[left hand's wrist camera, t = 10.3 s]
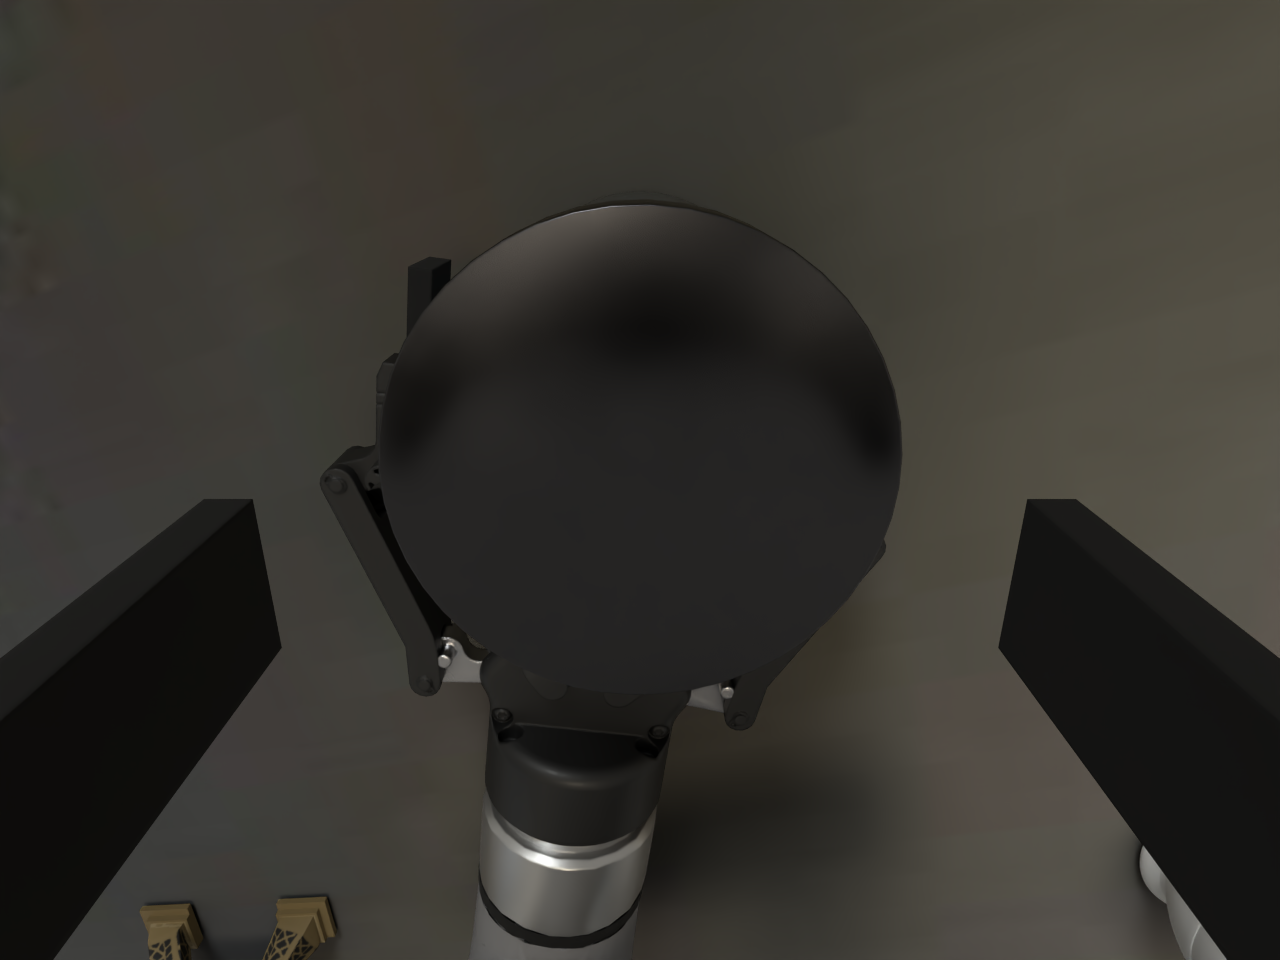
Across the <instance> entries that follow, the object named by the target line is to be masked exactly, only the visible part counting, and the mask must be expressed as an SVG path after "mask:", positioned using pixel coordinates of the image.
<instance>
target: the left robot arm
mask: <svg viewBox="0 0 1280 960" xmlns="http://www.w3.org/2000/svg"><path fill="white" fill-rule="evenodd" d="M281 648H282V647H281V642H280V637H279V632H278V626H277V621H276V616H275V611H274V606H273V601H272V596H271V591H270V586H269V580H268V575H267V570H266V565H265V560H264V555H263V550H262V545H261V540H260V534H259V529H258V524H257V519H256V514H255V509H254V504H253V499H204V500H202V501H201V502H200V503H199V504H197V505H196V506H195V507H193V508H192V509H191V510H190V511H188V512H187V513H186V514H185V515H183V516H182V517H181V518H179V519H178V520H177V521H176V522H174V523H173V524H172V525H170V526H169V527H168V528H167V529H165V530H164V531H163V532H161V533H160V534H159V535H158V536H156V537H155V538H154V539H153V540H151V541H150V542H149V543H147V544H146V545H145V546H144V547H142V548H141V549H140V550H138V551H137V552H136V553H135V554H133V555H132V556H131V557H130V558H128V559H127V560H126V561H124V562H123V563H122V564H121V565H119V566H118V567H117V568H115V569H114V570H113V571H112V572H110V573H109V574H108V575H106V576H105V577H104V578H103V579H101V580H100V581H99V582H98V583H96V584H95V585H94V586H92V587H91V588H90V589H89V590H87V591H86V592H85V593H83V594H82V595H81V596H80V597H78V598H77V599H76V600H75V601H73V602H72V603H71V604H69V605H68V606H67V607H66V608H64V609H63V610H62V611H60V612H59V613H58V614H57V615H55V616H54V617H53V618H51V619H50V620H49V621H48V622H46V623H45V624H44V625H43V626H41V627H40V628H39V629H37V630H36V631H35V632H34V633H32V634H31V635H30V636H28V637H27V638H26V639H25V640H23V641H22V642H21V643H20V644H18V645H17V646H16V647H14V648H13V649H12V650H11V651H9V652H8V653H7V654H5V655H4V656H3V657H2V658H0V960H53V959H54V958H55V956H56V955H57V954H58V952H59V951H60V950H61V948H62V947H63V946H64V944H65V943H66V941H67V940H68V939H69V937H70V936H71V935H72V933H73V932H74V931H75V929H76V928H77V926H78V925H79V924H80V922H81V921H82V920H83V918H84V917H85V915H86V914H87V913H88V911H89V910H90V909H91V907H92V906H93V905H94V903H95V902H96V900H97V899H98V898H99V896H100V895H101V894H102V892H103V891H104V890H105V888H106V887H107V885H108V884H109V883H110V881H111V880H112V879H113V877H114V876H115V875H116V873H117V872H118V870H119V869H120V868H121V866H122V865H123V864H124V862H125V861H126V860H127V858H128V857H129V855H130V854H131V853H132V851H133V850H134V849H135V847H136V846H137V845H138V843H139V842H140V840H141V839H142V838H143V836H144V835H145V834H146V832H147V831H148V829H149V828H150V827H151V825H152V824H153V823H154V821H155V820H156V819H157V817H158V816H159V814H160V813H161V812H162V810H163V809H164V808H165V806H166V805H167V804H168V802H169V801H170V799H171V798H172V797H173V795H174V794H175V793H176V791H177V790H178V789H179V787H180V786H181V784H182V783H183V782H184V780H185V779H186V778H187V776H188V775H189V774H190V772H191V771H192V769H193V768H194V767H195V765H196V764H197V763H198V761H199V760H200V758H201V757H202V756H203V754H204V753H205V752H206V750H207V749H208V748H209V746H210V745H211V743H212V742H213V741H214V739H215V738H216V737H217V735H218V734H219V733H220V731H221V730H222V728H223V727H224V726H225V724H226V723H227V722H228V720H229V719H230V718H231V716H232V715H233V713H234V712H235V711H236V709H237V708H238V707H239V705H240V704H241V703H242V701H243V700H244V698H245V697H246V696H247V694H248V693H249V692H250V690H251V689H252V687H253V686H254V685H255V683H256V682H257V681H258V679H259V678H260V677H261V675H262V674H263V672H264V671H265V670H266V668H267V667H268V666H269V664H270V663H271V662H272V660H273V659H274V657H275V656H276V655H277V653H278V652H279V651H280V649H281ZM998 648H999V649H1000V651H1001V652H1002V653H1003V655H1004V656H1005V657H1006V659H1007V660H1008V662H1009V663H1010V664H1011V666H1012V667H1013V668H1014V670H1015V671H1016V672H1017V674H1018V675H1019V677H1020V678H1021V679H1022V681H1023V682H1024V683H1025V685H1026V686H1027V687H1028V689H1029V690H1030V692H1031V693H1032V694H1033V696H1034V697H1035V698H1036V700H1037V701H1038V703H1039V704H1040V705H1041V707H1042V708H1043V709H1044V711H1045V712H1046V713H1047V715H1048V716H1049V718H1050V719H1051V720H1052V722H1053V723H1054V724H1055V726H1056V727H1057V728H1058V730H1059V731H1060V733H1061V734H1062V735H1063V737H1064V738H1065V739H1066V741H1067V742H1068V743H1069V745H1070V746H1071V748H1072V749H1073V750H1074V752H1075V753H1076V754H1077V756H1078V757H1079V758H1080V760H1081V761H1082V763H1083V764H1084V765H1085V767H1086V768H1087V769H1088V771H1089V772H1090V774H1091V775H1092V776H1093V778H1094V779H1095V780H1096V782H1097V783H1098V784H1099V786H1100V787H1101V789H1102V790H1103V791H1104V793H1105V794H1106V795H1107V797H1108V798H1109V799H1110V801H1111V802H1112V804H1113V805H1114V806H1115V808H1116V809H1117V810H1118V812H1119V813H1120V814H1121V816H1122V817H1123V819H1124V820H1125V821H1126V823H1127V824H1128V825H1129V827H1130V828H1131V829H1132V831H1133V832H1134V834H1135V835H1136V836H1137V838H1138V839H1139V840H1140V842H1141V843H1142V845H1143V846H1144V847H1145V849H1146V850H1147V851H1148V853H1149V854H1150V855H1151V857H1152V858H1153V860H1154V861H1155V862H1156V864H1157V865H1158V866H1159V868H1160V869H1161V870H1162V872H1163V873H1164V875H1165V876H1166V877H1167V879H1168V880H1169V881H1170V883H1171V884H1172V885H1173V887H1174V888H1175V890H1176V891H1177V892H1178V894H1179V895H1180V896H1181V898H1182V899H1183V900H1184V902H1185V903H1186V905H1187V906H1188V907H1189V909H1190V910H1191V911H1192V913H1193V914H1194V915H1195V917H1196V918H1197V920H1198V921H1199V922H1200V924H1201V925H1202V926H1203V928H1204V929H1205V931H1206V932H1207V933H1208V935H1209V936H1210V937H1211V939H1212V940H1213V941H1214V943H1215V944H1216V946H1217V947H1218V948H1219V950H1220V951H1221V952H1222V954H1223V955H1224V956H1225V958H1226V959H1227V960H1280V658H1278V657H1277V656H1276V655H1275V654H1273V653H1272V652H1271V651H1269V650H1268V649H1267V648H1266V647H1264V646H1263V645H1262V644H1260V643H1259V642H1258V641H1257V640H1255V639H1254V638H1253V637H1252V636H1250V635H1249V634H1248V633H1246V632H1245V631H1244V630H1243V629H1241V628H1240V627H1239V626H1237V625H1236V624H1235V623H1234V622H1232V621H1231V620H1230V619H1229V618H1227V617H1226V616H1225V615H1223V614H1222V613H1221V612H1220V611H1218V610H1217V609H1216V608H1214V607H1213V606H1212V605H1211V604H1209V603H1208V602H1207V601H1205V600H1204V599H1203V598H1202V597H1200V596H1199V595H1198V594H1197V593H1195V592H1194V591H1193V590H1191V589H1190V588H1189V587H1188V586H1186V585H1185V584H1184V583H1182V582H1181V581H1180V580H1179V579H1177V578H1176V577H1175V576H1174V575H1172V574H1171V573H1170V572H1168V571H1167V570H1166V569H1165V568H1163V567H1162V566H1161V565H1159V564H1158V563H1157V562H1156V561H1154V560H1153V559H1152V558H1150V557H1149V556H1148V555H1147V554H1145V553H1144V552H1143V551H1142V550H1140V549H1139V548H1138V547H1136V546H1135V545H1134V544H1133V543H1131V542H1130V541H1129V540H1127V539H1126V538H1125V537H1124V536H1122V535H1121V534H1120V533H1119V532H1117V531H1116V530H1115V529H1113V528H1112V527H1111V526H1110V525H1108V524H1107V523H1106V522H1104V521H1103V520H1102V519H1101V518H1099V517H1098V516H1097V515H1095V514H1094V513H1093V512H1092V511H1090V510H1089V509H1088V508H1087V507H1085V506H1084V505H1083V504H1081V503H1080V502H1079V501H1078V500H1076V499H1027V504H1026V509H1025V514H1024V519H1023V524H1022V529H1021V534H1020V540H1019V545H1018V550H1017V555H1016V560H1015V565H1014V570H1013V575H1012V580H1011V586H1010V591H1009V596H1008V601H1007V606H1006V611H1005V616H1004V621H1003V626H1002V632H1001V637H1000V642H999V647H998Z"/></svg>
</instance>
